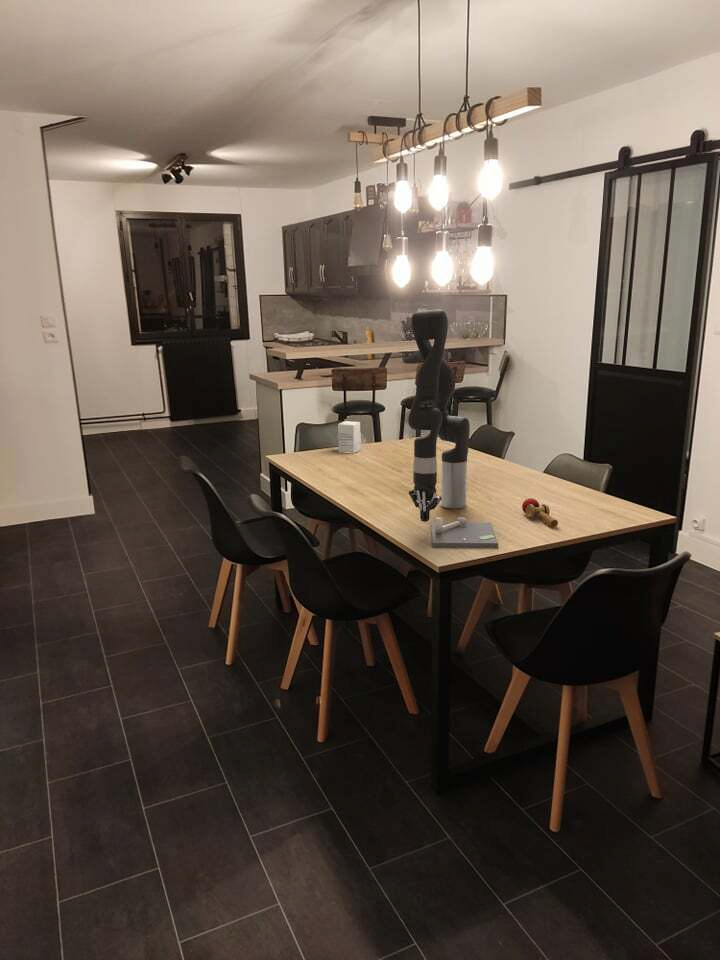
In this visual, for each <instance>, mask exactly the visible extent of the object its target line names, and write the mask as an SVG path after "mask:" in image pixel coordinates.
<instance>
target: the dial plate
mask: <svg viewBox="0 0 720 960" xmlns="http://www.w3.org/2000/svg"><path fill="white" fill-rule="evenodd" d="M453 522H454V521H453ZM453 522H452V521H443V526H444V525H447V524H450V523H453ZM495 532H496V531H495V530H494V528H493V525H492V522H488V521H487V522H486V521H485V522H484V521H482V522H480V521H478V522H477V521H475V522H473V521H468V522H467V521H466V525H464V526H459V525H456V526H453V527H450V528H447V529H444V530H443V532H440V533H437V532H435V521H431V522H430V533H431V545H432V547H431V548H455V549H456V548H465V549H467V548H469V549H471V548H475V549H476V548H477V549H478V548H480V549H483V548H484V549H486V548H488V549H490V548H491V549H497V548H499V541H498V539H497V536H496V533H495Z"/></svg>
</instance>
